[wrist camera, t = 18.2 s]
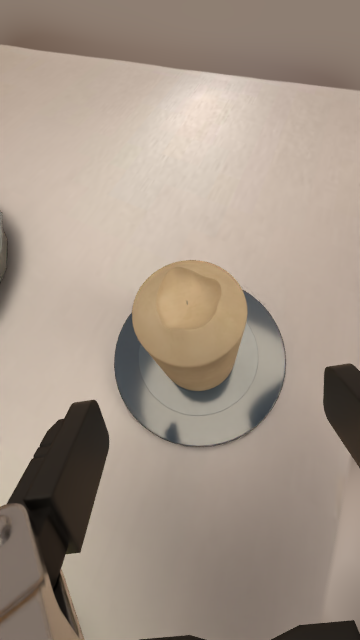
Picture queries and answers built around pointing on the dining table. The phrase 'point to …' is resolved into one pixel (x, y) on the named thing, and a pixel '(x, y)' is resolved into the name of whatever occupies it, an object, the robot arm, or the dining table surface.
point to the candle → (191, 322)
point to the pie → (2, 250)
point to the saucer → (209, 405)
